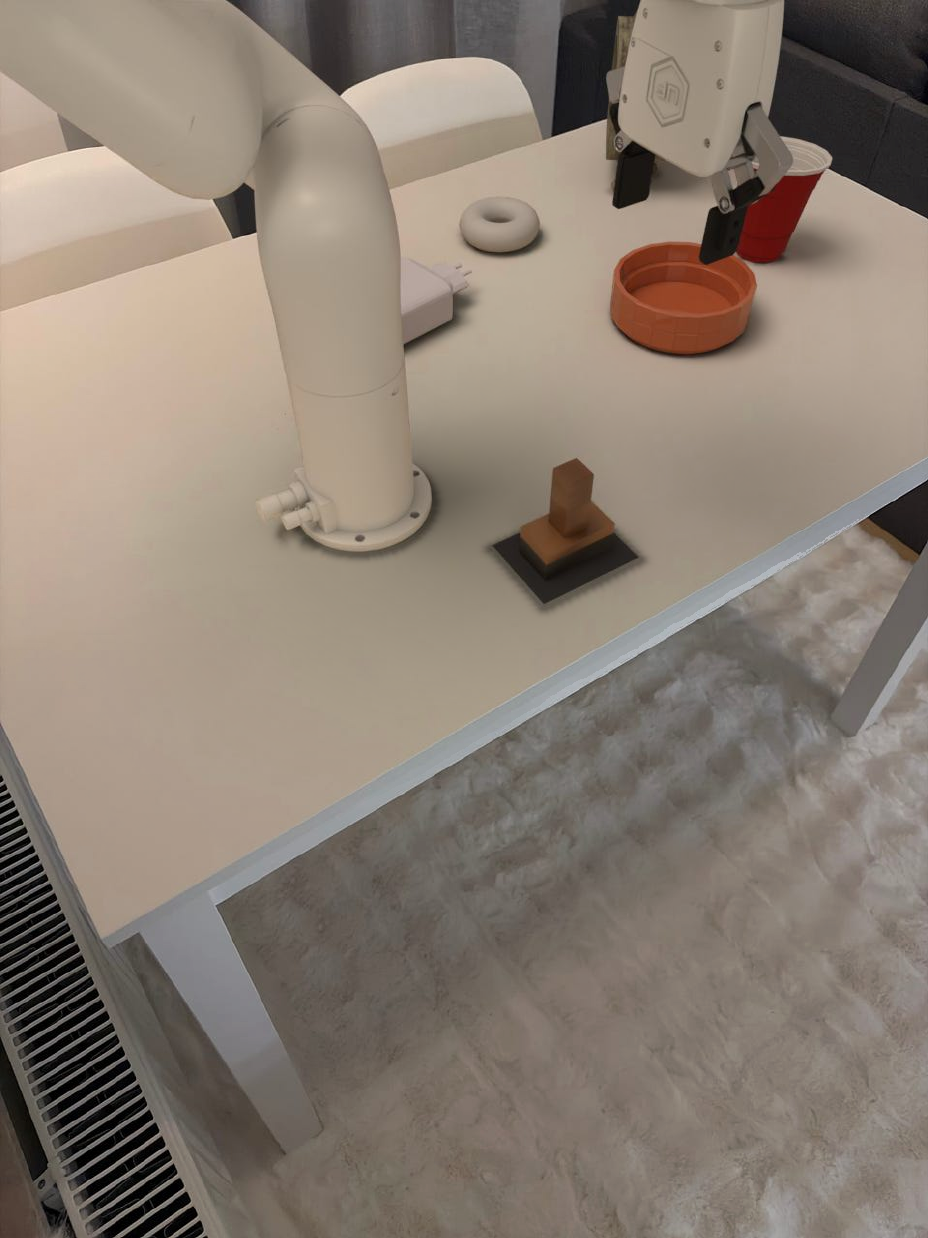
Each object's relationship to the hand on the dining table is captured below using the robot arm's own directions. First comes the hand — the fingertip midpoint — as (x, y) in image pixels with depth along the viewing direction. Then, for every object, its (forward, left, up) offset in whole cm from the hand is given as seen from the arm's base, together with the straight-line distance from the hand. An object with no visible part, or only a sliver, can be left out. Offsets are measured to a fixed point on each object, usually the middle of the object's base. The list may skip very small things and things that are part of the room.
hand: (671, 229), depth 69 cm
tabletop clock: (+38, +47, -24) cm, 66 cm away
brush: (-12, -6, -23) cm, 27 cm away
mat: (-12, -6, -24) cm, 27 cm away
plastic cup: (+38, +23, -24) cm, 51 cm away
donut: (+13, +43, -24) cm, 51 cm away
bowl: (+20, +17, -24) cm, 36 cm away
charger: (-4, +34, -24) cm, 42 cm away
